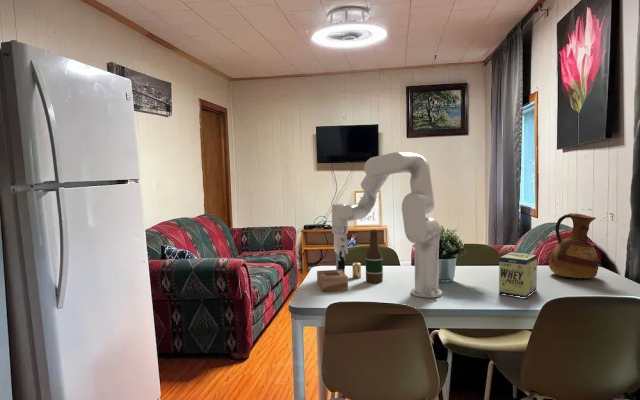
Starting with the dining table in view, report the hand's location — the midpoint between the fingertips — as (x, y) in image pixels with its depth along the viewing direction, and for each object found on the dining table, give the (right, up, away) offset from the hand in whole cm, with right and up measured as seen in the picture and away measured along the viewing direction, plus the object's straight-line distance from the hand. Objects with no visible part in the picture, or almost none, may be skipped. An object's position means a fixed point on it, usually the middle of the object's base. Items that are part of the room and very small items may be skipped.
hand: (340, 267), depth 204 cm
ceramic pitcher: (+109, -4, -3) cm, 109 cm away
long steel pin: (0, -5, 0) cm, 5 cm away
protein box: (+72, -6, -28) cm, 77 cm away
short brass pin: (+8, -5, +2) cm, 10 cm away
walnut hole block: (-4, -6, -15) cm, 17 cm away
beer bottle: (+15, -6, -6) cm, 18 cm away
